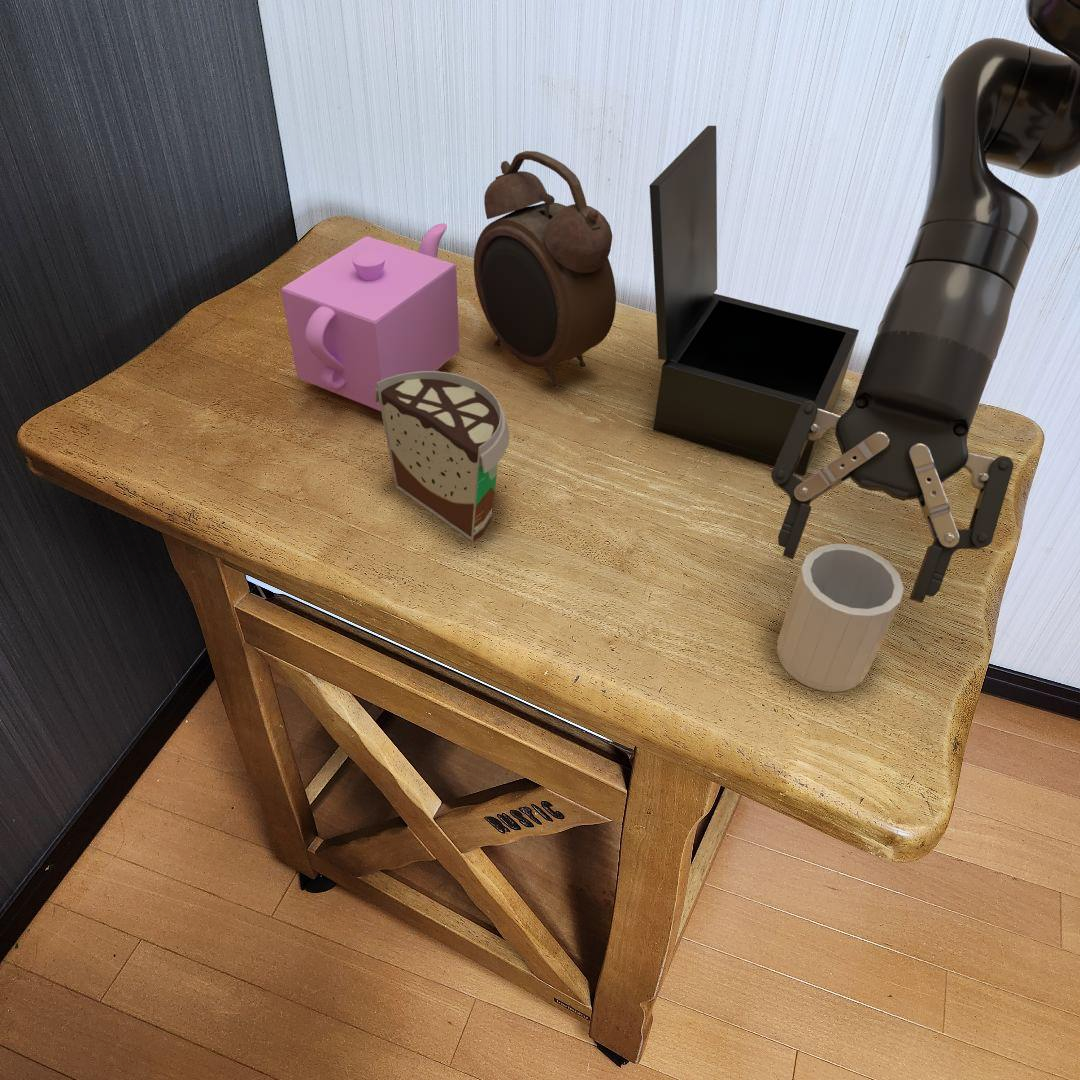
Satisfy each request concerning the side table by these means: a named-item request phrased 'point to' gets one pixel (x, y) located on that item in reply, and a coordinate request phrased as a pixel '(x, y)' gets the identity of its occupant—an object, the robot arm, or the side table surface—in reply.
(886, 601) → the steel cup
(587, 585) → the side table surface
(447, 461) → the food container
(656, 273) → the black box lid
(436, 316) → the teapot
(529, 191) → the alarm clock
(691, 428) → the black square box
